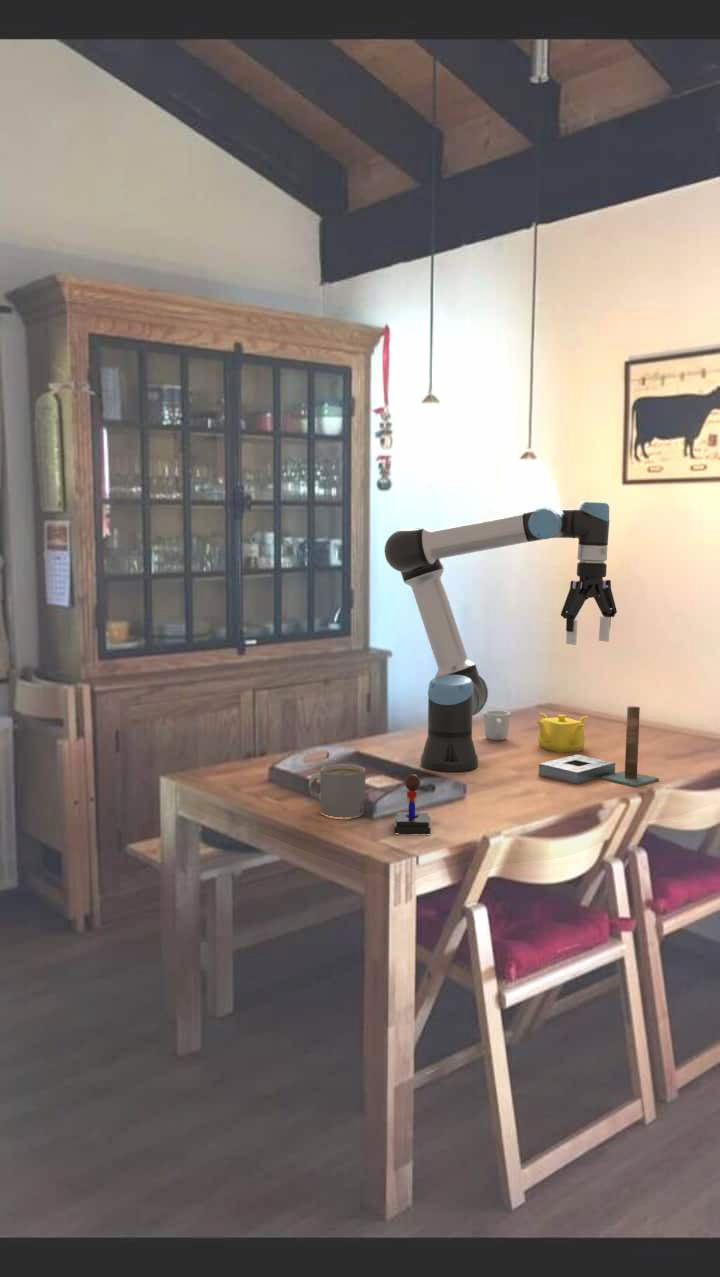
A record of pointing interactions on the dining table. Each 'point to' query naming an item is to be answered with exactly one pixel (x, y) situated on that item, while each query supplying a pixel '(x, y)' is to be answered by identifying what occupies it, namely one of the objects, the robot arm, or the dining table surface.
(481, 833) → the dining table surface
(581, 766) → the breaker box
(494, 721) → the cup
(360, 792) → the coffee mug
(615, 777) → the coaster
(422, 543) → the robot arm
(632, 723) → the brown wooden block
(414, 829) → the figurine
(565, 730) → the teapot
